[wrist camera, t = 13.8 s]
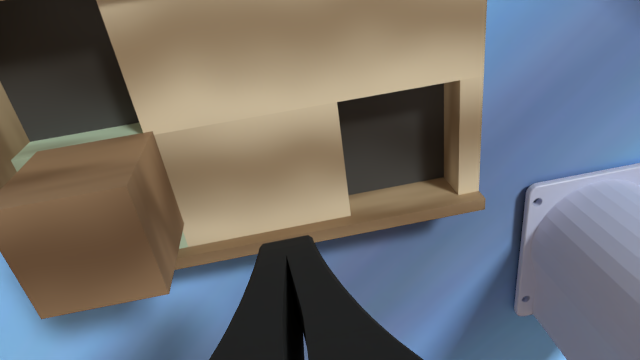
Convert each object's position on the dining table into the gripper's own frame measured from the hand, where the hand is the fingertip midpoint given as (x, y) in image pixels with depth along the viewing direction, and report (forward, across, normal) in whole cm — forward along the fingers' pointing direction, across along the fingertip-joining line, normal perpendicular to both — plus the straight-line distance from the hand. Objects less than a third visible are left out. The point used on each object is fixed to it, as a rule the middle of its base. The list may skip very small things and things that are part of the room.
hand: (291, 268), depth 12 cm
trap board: (+10, +1, -2) cm, 10 cm away
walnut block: (+8, +7, +1) cm, 11 cm away
